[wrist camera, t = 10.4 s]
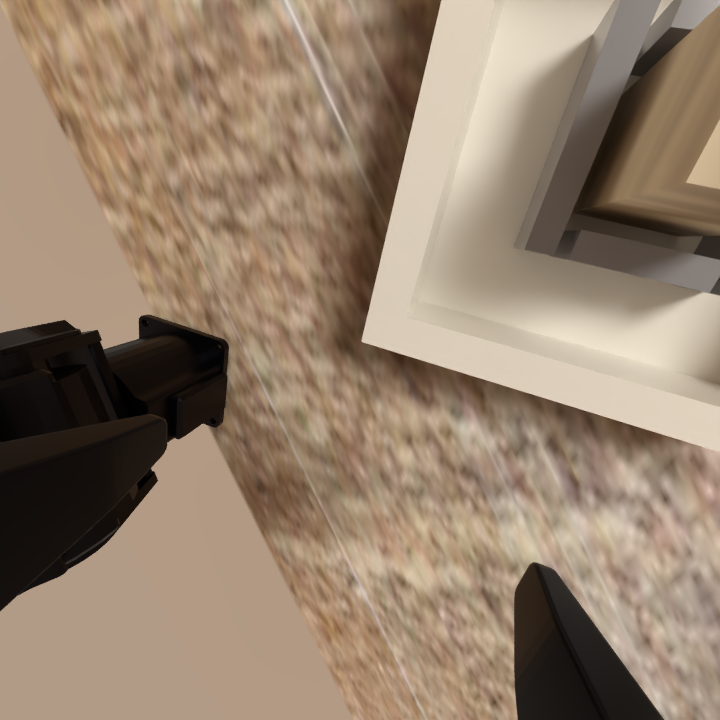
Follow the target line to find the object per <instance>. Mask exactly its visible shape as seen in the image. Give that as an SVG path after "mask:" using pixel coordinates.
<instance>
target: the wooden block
mask: <svg viewBox="0 0 720 720" xmlns="http://www.w3.org/2000/svg"><path fill="white" fill-rule="evenodd" d="M572 213H575V214H580V215H584V216H589V217H593V218H598V219H602V220H607V221H611V222H616V223H620V224H625V225H629V226H633V227H638V228H642V229H647V230H651V231H656V232H660V233H665V234H669V235H674V236H678V237H680V236H720V5H719V6H718V7H717V8H716V9H715V10H714V11H713V12H712V13H711V14H709V15H708V16H707V17H706V18H705V19H704V20H703V21H702V22H701V23H700V24H699V25H697V26H696V27H695V28H694V29H693V30H692V31H691V32H690V33H689V34H688V35H687V36H685V37H684V38H683V39H682V40H681V41H680V42H679V43H678V44H677V45H676V46H675V47H674V48H672V49H671V50H670V51H669V52H668V53H667V54H666V55H665V56H664V57H663V58H662V59H660V60H659V61H658V62H657V63H656V64H655V65H654V66H653V67H652V68H651V69H650V70H648V71H647V72H646V73H645V74H644V75H643V76H642V77H641V78H640V79H639V80H638V81H636V82H635V83H634V84H633V85H632V86H631V87H630V88H629V89H628V90H627V91H626V92H624V93H623V94H622V95H621V97H620V99H619V102H618V104H617V107H616V109H615V111H614V114H613V116H612V118H611V121H610V123H609V126H608V128H607V130H606V133H605V135H604V137H603V140H602V142H601V145H600V147H599V149H598V152H597V154H596V156H595V159H594V161H593V164H592V166H591V168H590V171H589V173H588V175H587V178H586V180H585V183H584V185H583V187H582V190H581V192H580V194H579V197H578V199H577V202H576V204H575V206H574V209H573V211H572Z"/></svg>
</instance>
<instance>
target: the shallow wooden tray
mask: <svg viewBox="0 0 720 720" xmlns="http://www.w3.org/2000/svg"><path fill="white" fill-rule="evenodd" d="M719 5H720V0H441V4H440V9H439V13H438V17H437V21H436V26H435V30H434V34H433V38H432V43H431V47H430V51H429V56H428V60H427V64H426V68H425V73H424V77H423V81H422V85H421V90H420V94H419V98H418V102H417V107H416V111H415V115H414V119H413V124H412V128H411V132H410V136H409V141H408V145H407V149H406V153H405V158H404V162H403V166H402V171H401V175H400V179H399V183H398V188H397V192H396V196H395V200H394V205H393V209H392V213H391V217H390V222H389V226H388V230H387V234H386V239H385V243H384V247H383V251H382V256H381V260H380V264H379V268H378V273H377V277H376V281H375V285H374V290H373V294H372V298H371V303H370V307H369V311H368V315H367V320H366V324H365V328H364V332H363V337H362V341H361V342H363V343H367V344H370V345H373V346H376V347H380V348H383V349H386V350H389V351H393V352H396V353H399V354H402V355H406V356H409V357H412V358H415V359H419V360H422V361H425V362H428V363H432V364H435V365H438V366H441V367H445V368H448V369H451V370H454V371H458V372H461V373H464V374H467V375H471V376H474V377H477V378H480V379H484V380H487V381H490V382H493V383H497V384H500V385H503V386H506V387H510V388H513V389H516V390H519V391H523V392H526V393H529V394H532V395H536V396H539V397H542V398H545V399H549V400H552V401H555V402H558V403H562V404H565V405H568V406H571V407H575V408H578V409H581V410H584V411H588V412H591V413H594V414H597V415H601V416H604V417H607V418H610V419H614V420H617V421H620V422H623V423H627V424H630V425H633V426H636V427H640V428H643V429H646V430H649V431H653V432H656V433H659V434H662V435H666V436H669V437H672V438H675V439H679V440H682V441H685V442H688V443H692V444H695V445H698V446H701V447H705V448H708V449H711V450H714V451H718V452H720V236H680V237H678V236H674V235H669V234H665V233H660V232H656V231H651V230H647V229H642V228H638V227H633V226H629V225H625V224H620V223H616V222H611V221H607V220H602V219H598V218H593V217H589V216H584V215H580V214H575V213H572V211H573V209H574V206H575V204H576V202H577V199H578V197H579V194H580V192H581V190H582V187H583V185H584V183H585V180H586V178H587V175H588V173H589V171H590V168H591V166H592V164H593V161H594V159H595V156H596V154H597V152H598V149H599V147H600V145H601V142H602V140H603V137H604V135H605V133H606V130H607V128H608V126H609V123H610V121H611V118H612V116H613V114H614V111H615V109H616V107H617V104H618V102H619V99H620V97H621V95H622V94H623V93H624V92H626V91H627V90H628V89H629V88H630V87H631V86H632V85H633V84H634V83H635V82H636V81H638V80H639V79H640V78H641V77H642V76H643V75H644V74H645V73H646V72H647V71H648V70H650V69H651V68H652V67H653V66H654V65H655V64H656V63H657V62H658V61H659V60H660V59H662V58H663V57H664V56H665V55H666V54H667V53H668V52H669V51H670V50H671V49H672V48H674V47H675V46H676V45H677V44H678V43H679V42H680V41H681V40H682V39H683V38H684V37H685V36H687V35H688V34H689V33H690V32H691V31H692V30H693V29H694V28H695V27H696V26H697V25H699V24H700V23H701V22H702V21H703V20H704V19H705V18H706V17H707V16H708V15H709V14H711V13H712V12H713V11H714V10H715V9H716V8H717V7H718V6H719Z"/></svg>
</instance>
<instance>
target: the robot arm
mask: <svg viewBox="0 0 720 720" xmlns="http://www.w3.org/2000/svg"><path fill="white" fill-rule="evenodd" d="M147 322H148V323H147ZM101 340H102V339H101V337H100V334H99V332H98V330H94V331H87V332H81V331H80V329H79V330H78V329H76V328H74V327H73V326H72V325H71V324H69V323H68V322H67V321H65V320H63V321H57V322H52V323H47V324H42V325H37V326H32V327H27V328H22V329H17V330H12V331H7V332H3V333H0V611H1V610H2V609H3V608H4V607H5V606H7V605H8V604H9V603H10V602H11V601H12V600H13V599H14V598H15V597H16V596H17V595H20V594H21V593H23V592H25V591H27V590H29V589H31V588H33V587H35V586H38V585H40V584H43V583H45V582H48V581H50V580H52V579H55V578H57V577H59V576H61V575H63V574H64V573H65V572H66V571H67V570H68V569H69V568H71V567H73V566H75V565H76V564H78V563H80V562H81V561H83V560H85V559H86V558H88V557H89V556H91V555H92V554H93V553H95V552H96V551H98V550H99V549H100V548H101V547H102V546H103V545H105V544H106V543H107V542H108V541H109V540H110V538H111V537H112V536H113V535H114V534H115V533H116V532H117V530H118V529H119V528H120V527H121V525H122V524H123V523H124V522H125V521H126V519H127V518H128V517H129V516H130V514H131V513H132V512H133V511H134V510H135V508H136V507H137V506H138V505H139V503H140V502H141V501H142V500H143V499H144V497H145V496H146V495H147V494H148V492H149V491H150V490H151V489H152V487H153V486H154V485H155V484H156V482H157V481H158V480H157V477H156V475H155V472H154V471H152V470H151V467H152V466H153V465H154V464H155V463H156V462H157V461H158V460H159V459H160V457H161V456H162V455H163V454H164V452H165V450H166V448H167V442H169V441H170V440H172V439H173V438H176V439H181V438H182V437H184V436H185V435H187V434H188V433H190V432H191V431H193V430H194V429H195V428H197V427H198V426H200V425H201V424H206V425H209V426H211V427H218V426H219V425H221V424H222V422H223V415H224V408H225V401H226V389H227V363H228V350H229V347H228V344H227V342H226V341H225V340H224V339H221V338H218V337H215V336H212V335H209V334H206V333H203V332H200V331H197V330H194V329H191V328H188V327H185V326H182V325H179V324H176V323H173V322H170V321H167V320H164V319H161V318H158V317H155V316H152V315H144V316H141V317H140V318H139V339H137V340H134V341H131V342H127V343H124V344H120V345H117V346H114V347H111V348H107V349H104V350H103V347H102V345H101V343H100V341H101ZM218 344H219V345H220V346H221V349H220V348H219V346H218ZM214 419H215V420H216V421H215V420H214ZM514 672H515V693H516V705H517V715H518V720H664V719H663V717H662V716H661V715H660V713H659V712H658V711H657V709H656V708H655V706H654V705H653V704H652V702H651V701H650V700H649V698H648V697H647V696H646V694H645V693H644V691H643V690H642V689H641V687H640V686H639V685H638V683H637V682H636V680H635V679H634V678H633V676H632V675H631V674H630V672H629V671H628V669H627V668H626V667H625V665H624V664H623V663H622V661H621V660H620V659H619V657H618V656H617V654H616V653H615V652H614V650H613V649H612V648H611V646H610V645H609V643H608V642H607V641H606V639H605V638H604V637H603V635H602V634H601V633H600V631H599V630H598V628H597V627H596V626H595V624H594V623H593V622H592V620H591V619H590V617H589V616H588V615H587V613H586V612H585V611H584V609H583V608H582V607H581V605H580V604H579V602H578V601H577V600H576V598H575V597H574V596H573V594H572V593H571V591H570V590H569V589H568V587H567V586H566V585H565V583H564V582H563V580H562V579H561V578H560V576H559V575H558V574H557V573H556V571H555V570H553V569H552V568H549V567H547V566H544V565H542V564H539V563H536V562H533V563H531V564H530V565H529V567H528V568H527V570H526V572H525V574H524V575H523V577H522V579H521V580H520V582H519V584H518V586H517V588H516V591H515V597H514Z"/></svg>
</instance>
